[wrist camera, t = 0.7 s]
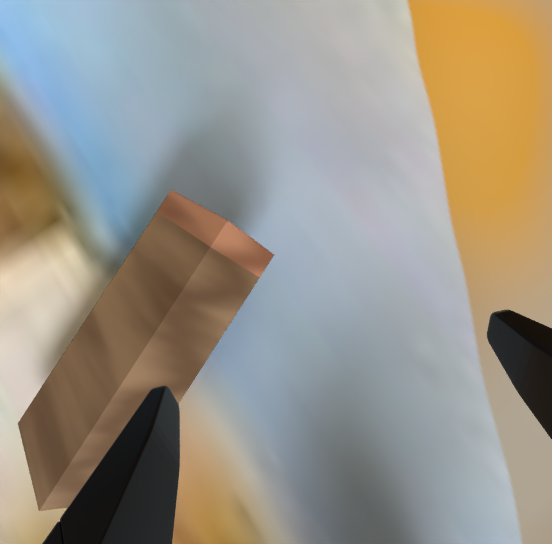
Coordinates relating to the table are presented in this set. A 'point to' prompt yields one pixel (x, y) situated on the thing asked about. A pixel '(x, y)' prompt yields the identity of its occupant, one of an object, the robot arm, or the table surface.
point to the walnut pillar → (138, 341)
